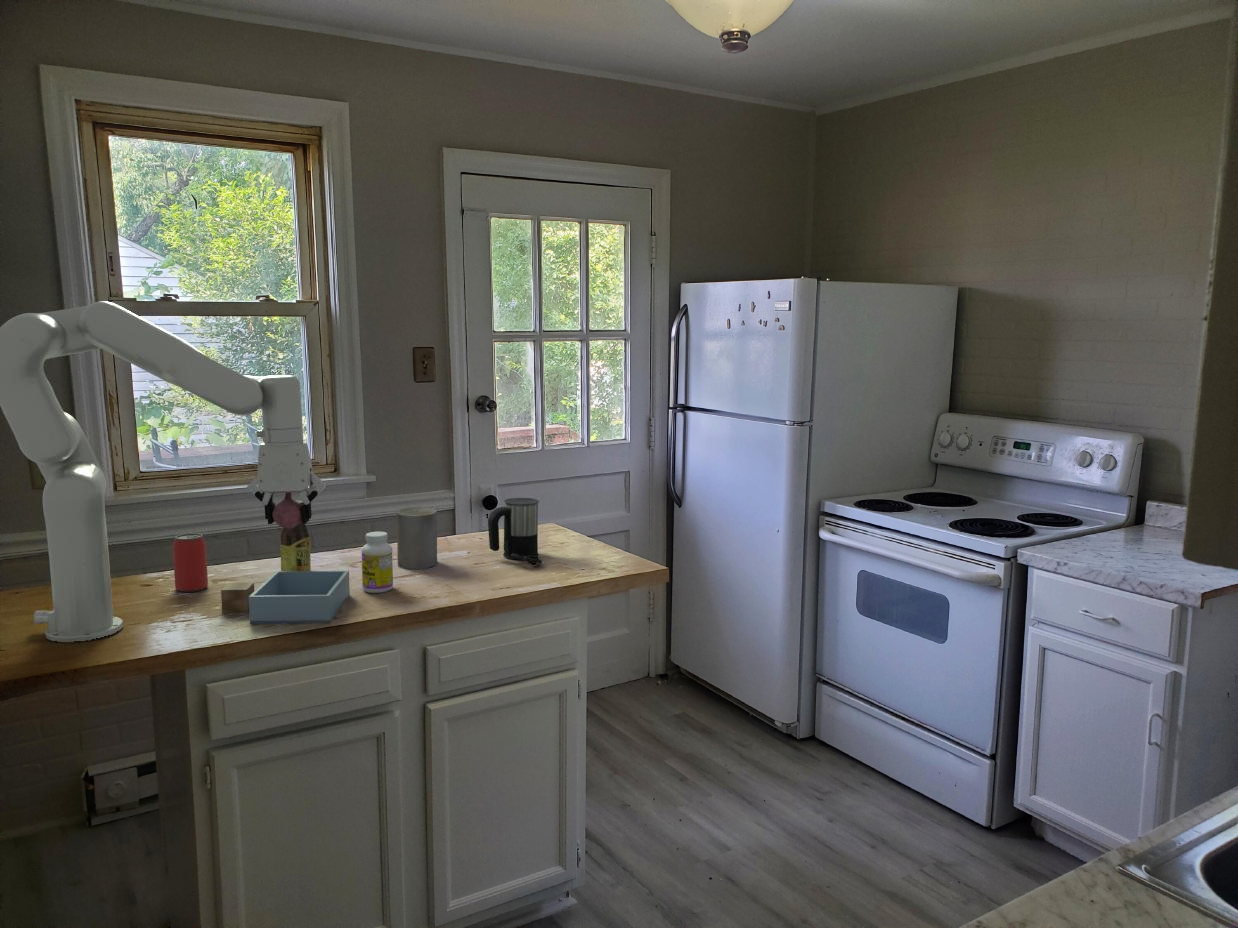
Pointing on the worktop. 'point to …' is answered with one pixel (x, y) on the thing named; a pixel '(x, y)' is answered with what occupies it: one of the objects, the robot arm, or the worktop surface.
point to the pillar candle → (416, 537)
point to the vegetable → (287, 513)
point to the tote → (299, 597)
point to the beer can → (190, 562)
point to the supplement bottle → (377, 563)
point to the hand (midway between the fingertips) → (288, 521)
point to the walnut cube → (236, 597)
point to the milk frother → (516, 529)
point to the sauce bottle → (295, 548)
